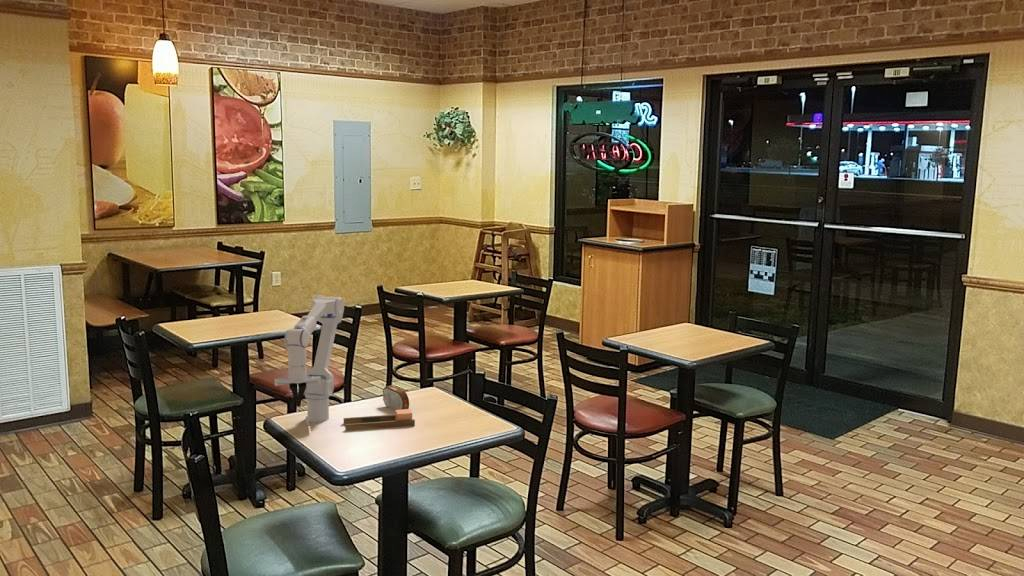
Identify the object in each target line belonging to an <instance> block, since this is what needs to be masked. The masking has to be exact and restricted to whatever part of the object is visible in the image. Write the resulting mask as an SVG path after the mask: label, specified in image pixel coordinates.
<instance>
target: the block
mask: <svg viewBox="0 0 1024 576" xmlns="http://www.w3.org/2000/svg"><path fill="white" fill-rule="evenodd" d="M394 411H395V414H394V415H395V421H397V420H411V419H413V412H412V410H411V408H409V409H402V410H398V409H395V410H394Z"/></svg>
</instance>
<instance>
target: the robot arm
mask: <svg viewBox="0 0 1024 576" xmlns="http://www.w3.org/2000/svg"><path fill="white" fill-rule="evenodd" d="M344 312H345V303H344V299H343V298H342V297H341V296H337V297H336V296H320V295H316V296H314V298H313V299H312V301H311V309H310V311H309V312H308V314H307V315H303V316H301V318H300V319H299V320H298V321H297V323H296V324H295V325H294V327H291V328H289V329H287V330H286V332H284V333H285V334H284V339H283V342H284V345H285V350H286V352H287V362H288V363H287V364H288V367H287V368H288V370H287V371H288V376H287V377H281V378H280V377H279V378H274V386H275V387H278V386H288V385H289V390H290V392H291V393H292V396H293V398H294V401H295V407H301V406H302V399H303V396H304V398H306V406H307V407H306V409H307V413H306V416H305V421H306V425H307V426H311V422H312V423H322V422H325V421H328V420H329V419H330V417H329V416H330V410H329V407H330V405H329V400H330V399H329V398H330V397H331V395H333V393H334V389H335V388H334V387H335V376H334V374H333V373H332V372H331V371H329V367H330V361H331V356H332V352H333V346H334V342H335V337H336V333H337V327H338V324H340V323H342V320H343V315H344ZM317 322H319V323H321V324H322V326H321V330H320V335H319V340H318V345H317V349H316V352H315V353H316V354H315V359H314V363H313V367H312V368H310V369H309V370H308V369H307V365H308V364H307V346H308V345H309V343H310V339H311V335H312V334H313V332H314V331H315V329H316V328H317Z"/></svg>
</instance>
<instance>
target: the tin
mask: <svg viewBox="0 0 1024 576" xmlns="http://www.w3.org/2000/svg"><path fill="white" fill-rule="evenodd" d="M382 399H383V400H382V401H383V402H384V405H385V406H386V408H393V409H395V410H402V409H410V400H409V396H408V394H407V392H406V391H405V390H404V389H403V388H399V387H397V386H395V385H387V386H385V387H383V390H382Z"/></svg>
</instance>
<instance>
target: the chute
mask: <svg viewBox="0 0 1024 576" xmlns="http://www.w3.org/2000/svg"><path fill="white" fill-rule="evenodd" d="M415 424H416V420H415V419H413V418H412V419H411V420H397V421H395V414H383V415H382V414H381V415H369V416H367V415H366V416H356V417H355V416H353V417H352V416H351V417H343V426H344V429H345V432H348V431H362V430H363V431H364V430H377V429H378V430H379V429H387V428H388V429H389V428H390V429H391V428H402V427H405V428H406V427H415V426H416V425H415Z"/></svg>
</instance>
